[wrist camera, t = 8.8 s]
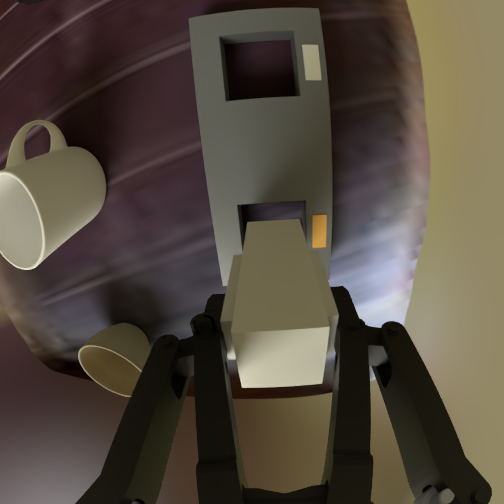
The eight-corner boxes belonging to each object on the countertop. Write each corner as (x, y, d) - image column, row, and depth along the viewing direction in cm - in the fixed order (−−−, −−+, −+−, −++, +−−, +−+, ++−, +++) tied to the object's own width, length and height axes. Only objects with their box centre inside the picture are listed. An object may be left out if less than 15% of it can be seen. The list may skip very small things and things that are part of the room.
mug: (101, 105, 21) (25, 114, 12) (115, 219, 27) (57, 272, 17) (42, 123, 22) (-29, 143, 12) (58, 222, 27) (0, 268, 18)
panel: (197, 28, 18) (188, 18, 15) (312, 19, 17) (318, 8, 14) (226, 269, 29) (223, 286, 26) (323, 263, 28) (329, 280, 26)
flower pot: (140, 301, 32) (117, 342, 26) (177, 356, 36) (165, 397, 30) (87, 313, 34) (64, 348, 27) (124, 361, 38) (109, 397, 32)
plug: (247, 222, 22) (230, 332, 11) (299, 218, 21) (329, 326, 11) (253, 276, 24) (244, 397, 13) (300, 274, 24) (320, 393, 13)
